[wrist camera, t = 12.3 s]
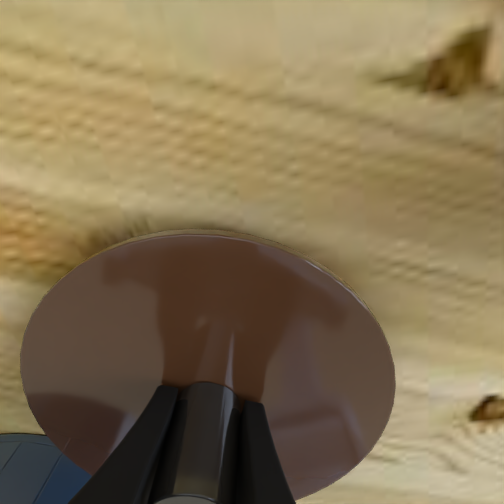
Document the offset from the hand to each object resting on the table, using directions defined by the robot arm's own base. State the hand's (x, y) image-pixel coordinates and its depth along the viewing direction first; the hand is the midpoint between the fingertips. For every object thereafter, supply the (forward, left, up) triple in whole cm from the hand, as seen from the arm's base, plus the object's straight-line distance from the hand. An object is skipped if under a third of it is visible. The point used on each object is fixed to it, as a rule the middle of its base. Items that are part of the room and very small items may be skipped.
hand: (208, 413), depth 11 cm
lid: (0, 0, -1) cm, 1 cm away
